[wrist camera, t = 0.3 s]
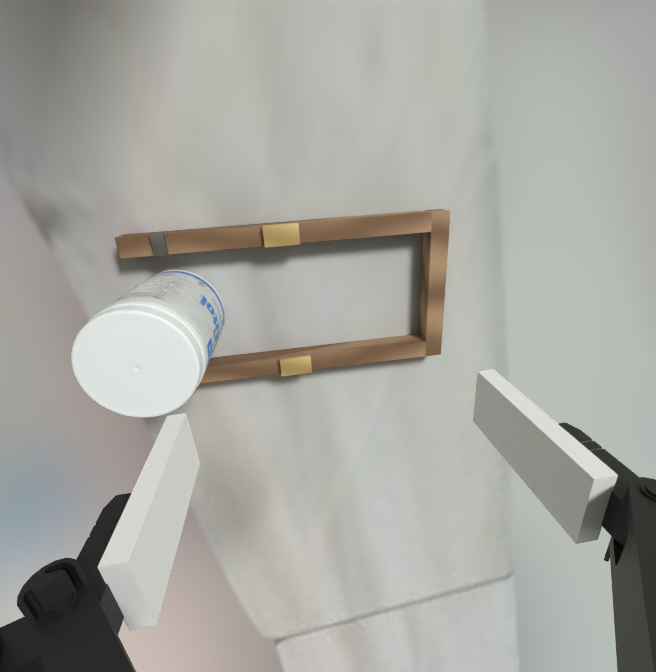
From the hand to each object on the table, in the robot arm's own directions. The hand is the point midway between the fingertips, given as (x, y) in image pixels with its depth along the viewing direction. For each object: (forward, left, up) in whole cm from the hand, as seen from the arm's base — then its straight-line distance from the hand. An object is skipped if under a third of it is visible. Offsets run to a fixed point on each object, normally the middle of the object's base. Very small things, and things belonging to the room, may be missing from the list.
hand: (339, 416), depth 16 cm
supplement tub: (+3, -14, -28) cm, 31 cm away
